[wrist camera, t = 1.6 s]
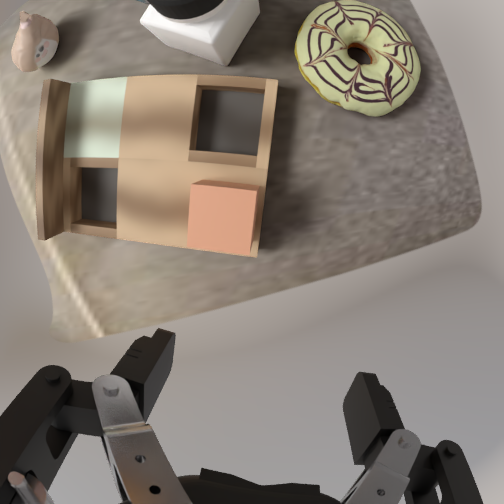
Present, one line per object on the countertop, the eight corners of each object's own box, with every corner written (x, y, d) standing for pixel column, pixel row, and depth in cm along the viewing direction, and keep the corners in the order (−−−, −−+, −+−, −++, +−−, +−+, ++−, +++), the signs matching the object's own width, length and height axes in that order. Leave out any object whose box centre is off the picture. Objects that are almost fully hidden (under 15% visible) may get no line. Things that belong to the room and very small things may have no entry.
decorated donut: (386, 137, 27) (401, 135, 23) (276, 84, 26) (276, 74, 22) (420, 48, 23) (437, 37, 19) (318, -3, 22) (323, -22, 19)
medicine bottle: (261, 12, 23) (252, -55, 12) (227, 68, 26) (197, 20, 14) (199, -8, 23) (163, -70, 12) (165, 45, 25) (109, 0, 14)
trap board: (76, 87, 27) (43, 80, 21) (278, 85, 26) (278, 69, 20) (69, 225, 32) (38, 239, 26) (258, 249, 31) (254, 271, 25)
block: (202, 179, 27) (190, 184, 23) (259, 185, 27) (256, 191, 23) (198, 234, 28) (186, 247, 24) (253, 241, 28) (249, 255, 24)
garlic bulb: (74, 49, 25) (31, 34, 18) (37, 83, 27) (-7, 76, 19) (61, 16, 24) (22, -2, 16) (27, 49, 25) (-14, 39, 17)
